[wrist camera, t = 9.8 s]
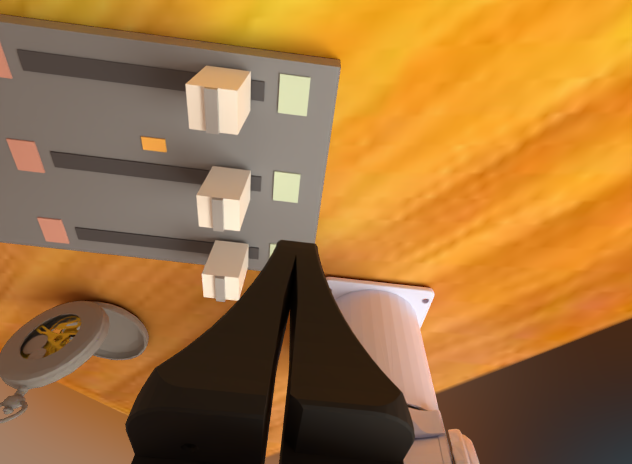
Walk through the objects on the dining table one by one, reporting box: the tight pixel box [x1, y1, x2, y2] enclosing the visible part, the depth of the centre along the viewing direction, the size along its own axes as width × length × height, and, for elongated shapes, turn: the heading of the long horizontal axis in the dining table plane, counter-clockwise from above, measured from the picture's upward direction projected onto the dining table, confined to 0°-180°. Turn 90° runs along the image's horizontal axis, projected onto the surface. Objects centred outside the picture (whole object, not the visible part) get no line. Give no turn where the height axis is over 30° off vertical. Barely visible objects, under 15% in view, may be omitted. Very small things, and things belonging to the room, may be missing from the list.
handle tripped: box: [196, 166, 251, 232], centre depth 19 cm, size 2×2×3 cm
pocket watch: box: [0, 301, 149, 423], centre depth 26 cm, size 8×8×10 cm
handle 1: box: [185, 65, 251, 135], centre depth 16 cm, size 2×2×3 cm
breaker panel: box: [0, 14, 341, 271], centre depth 21 cm, size 13×20×2 cm, turn 83°
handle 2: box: [202, 240, 249, 302], centre depth 22 cm, size 2×2×3 cm
